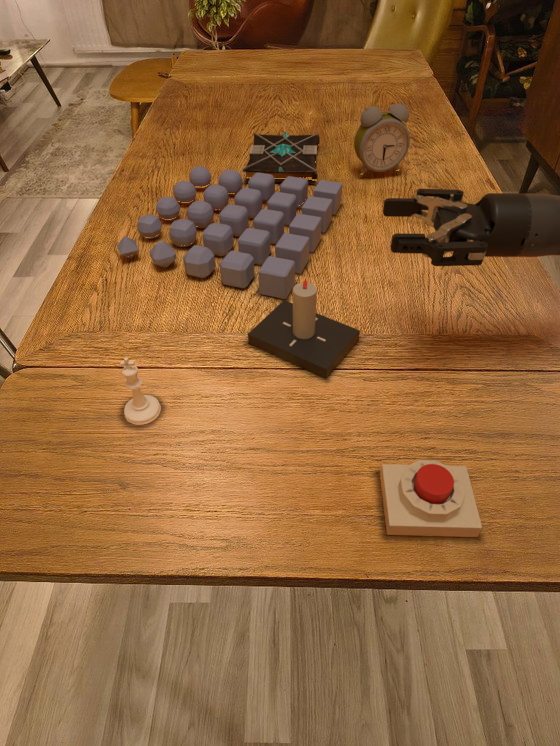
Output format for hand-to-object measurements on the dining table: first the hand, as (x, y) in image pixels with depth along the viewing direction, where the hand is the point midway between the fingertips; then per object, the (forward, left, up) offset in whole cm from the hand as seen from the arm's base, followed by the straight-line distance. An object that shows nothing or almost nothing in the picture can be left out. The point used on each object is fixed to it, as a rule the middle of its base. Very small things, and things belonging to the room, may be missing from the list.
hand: (387, 224), depth 63 cm
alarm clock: (+26, -55, -21) cm, 64 cm away
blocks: (+38, -16, -21) cm, 47 cm away
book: (+47, -47, -21) cm, 70 cm away
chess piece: (+20, +28, -21) cm, 41 cm away
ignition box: (-18, +20, -21) cm, 34 cm away
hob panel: (+9, +4, -21) cm, 23 cm away
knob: (+9, +4, -19) cm, 22 cm away
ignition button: (-18, +20, -17) cm, 32 cm away
